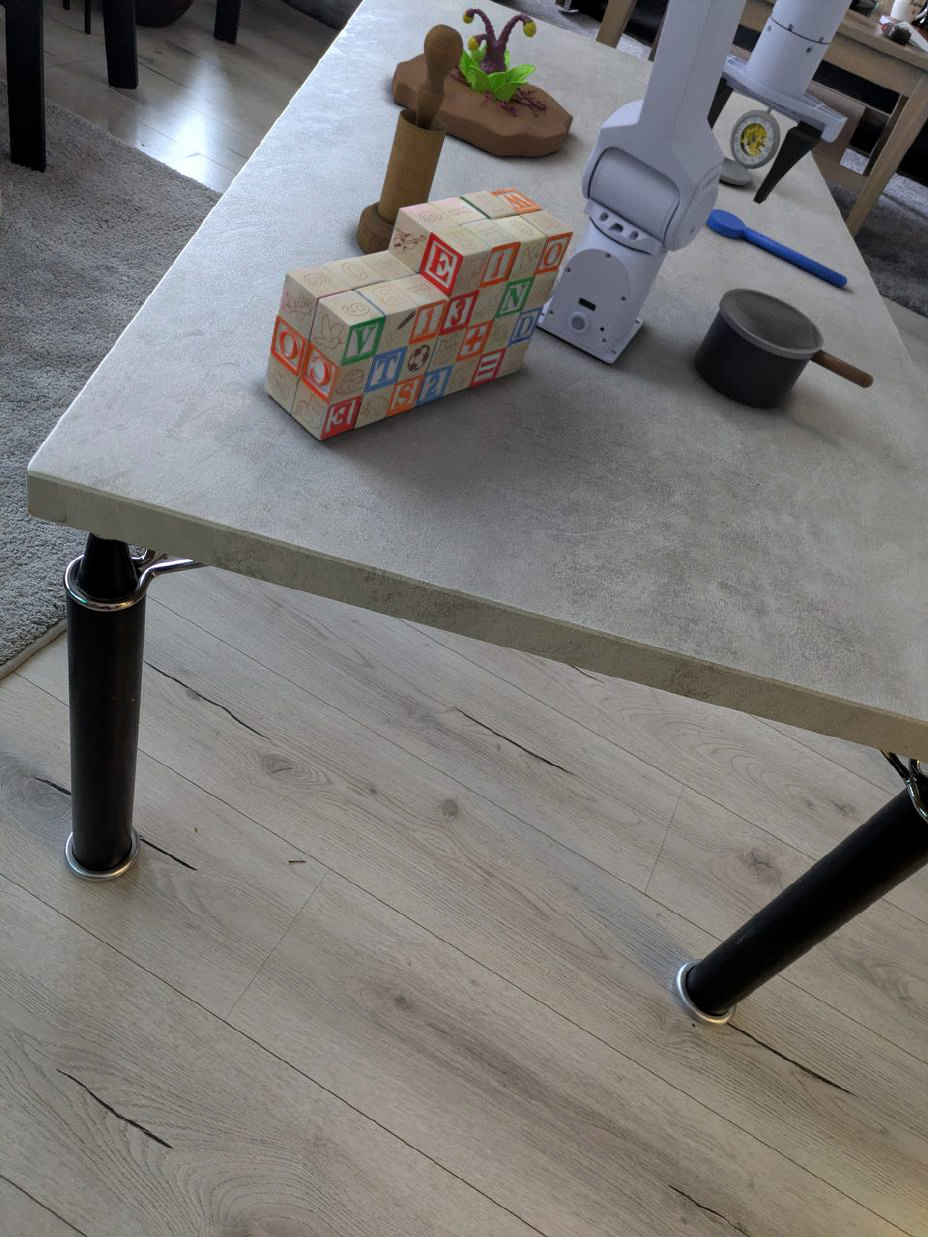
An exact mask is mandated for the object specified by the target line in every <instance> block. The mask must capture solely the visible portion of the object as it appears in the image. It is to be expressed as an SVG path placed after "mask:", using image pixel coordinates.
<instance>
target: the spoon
mask: <svg viewBox="0 0 928 1237" xmlns="http://www.w3.org/2000/svg"><path fill="white" fill-rule="evenodd" d="M706 224H707V226H708V227H710V228H711V229H712V230H713V231H715V232H716V233H718V234H720V235H722V236H725V237H728V238H732V239H737V238H743V239H744V240H747V241H748V242H751V243H752V244H755V245H756V246H758V247H760V248H762V249H764V250H766V251H768V252H770V253H772V254H774V255H776V256H778V257H780V258H781V259H784V260H786V261H788V262H790V263H792V264H794V265H796V266H798V267H800V268H802V269H804V271H805V270H806V271H807V272H808V273H809V272H810V273H811V274H814V275H815V276H817V277H820V278H821V279H823V280H826V281H827V282H829V283H831V284H833V285H835V286H837V287H839V288H842V287H845V286H846V285H847V283H848V278H847V277H846V276H845V275H844V274H842V273H839V272H837V271H836V270H833V269H831V268H829V267H827V266H825V265H823V264H822V263H820V262H818V261H816V260H814V259H812V258H810V257H808V256H806V255H804V254H802V253H800V252H798V251H796V250H794V249H792V248H790V247H788V246H786V245H784V244H782V243H780V242H779V241H776V240H774V239H773V238H770V237H769V236H767V235H764V234H763V233H760V232H759V231H756V230H755V229H753V228H751V227H749V226H746V224H745V222H744V221H743V220H742V219H741V218H739V217H738V216H737V215H735V214H734V213H731V212H729V211H726V210H724V209H718V208H713V210H712V212H711V214H710V216H709V217H708V219H707V221H706Z"/></svg>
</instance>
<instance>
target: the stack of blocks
mask: <svg viewBox="0 0 928 1237" xmlns="http://www.w3.org/2000/svg"><path fill="white" fill-rule="evenodd" d="M573 235H574V230H573V229H572V228H571V227H569V226H568V225H566V224H565V222H562V220H559V218H557V217H556V216H554V215H553V214H552V213H550V212H549V211H547V210H546V209H543V208H542V207H541V206H540V205H538V204H537V203H535V202H534V201H533V200H532V199H530V198H529V197H527V196H526V195H524V194H523V193H522V192H520V191H518V190H517V189H516V188H513V187H510V188H506V189H502V190H494V191H488V190H482V191H476V192H470V193H466V194H462V195H460V197H459V196H453V197H447V198H443V199H437V200H432V201H430V202H427V203H424V204H419V205H414V206H409V207H403V208H400V209H399V212H398V216H397V220H396V223H395V227H394V230H393V234H392V238H391V241H390V244H389V248H388V250H387V251H382V252H377V253H373V254H369V255H367V254H365V255H360V256H353V257H347V258H342V259H338V260H333V261H328V262H324V263H322V264H317V265H314V266H313V265H312V266H308V267H302V268H299V269H294V270H290V271H287V272H286V273H285V277H284V282H283V288H282V292H281V298H280V302H279V309H278V314H276V317H275V321H274V325H273V326H274V327H273V331H272V337H271V343H270V348H269V350H270V351H269V352H270V353H269V356H268V361H267V368H266V371H265V372H266V373H265V379H264V385H263V390H264V391H265V392H266V393H267V394H268V395H269V396H270V397H272V399H274V401H275V402H277V404H279V405H280V406H281V407H282V408H283V409H285V411H287V412H288V413H289V414H290V415H291V416H292V417H293V419H295V420H296V421H297V422H298V423H299V424H300V425H301V426H303V427H304V428H305V429H306V430H307V431H308V432H309V433H310V434H311V435H313V436H314V437H315V439H317V440H318V441H322V440H325V439H328V438H331V437H333V436H336V435H339V434H342V433H344V432H346V431H350V430H351V429H359V428H361V427H364V426H367V425H370V424H372V423H375V422H377V421H380V420H383V419H384V418H389V417H392V416H394V415H397V414H400V413H402V412H405V411H409V410H412V409H413V408H414V407H418V406H421V405H424V404H426V403H429V402H432V401H434V400H437V399H440V398H442V397H445V396H448V395H450V394H453V393H457V392H459V391H462V390H465V389H467V388H472V387H475V386H479V385H481V384H484V383H487V382H490V381H493V380H495V379H499V378H503V377H505V376H507V375H511V374H514V373H517V372H518V371H519V370H520V369H521V367H522V364H523V361H524V358H525V355H526V354H527V352H528V349H529V346H530V344H531V342H532V337H533V334H534V332H535V329H536V327H537V322H538V320H539V317H540V315H541V313H542V310H543V308H544V305H545V303H546V302H547V301H548V300H549V297H550V295H551V293H552V290H553V288H554V284H555V282H556V279H557V276H558V274H559V272H560V267H561V264H562V262H563V259H564V258H565V255H566V253H567V249H568V247H569V245H570V243H571V240H572V237H573Z"/></svg>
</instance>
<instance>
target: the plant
mask: <svg viewBox="0 0 928 1237" xmlns="http://www.w3.org/2000/svg"><path fill="white" fill-rule="evenodd" d="M475 15H478V17H480V19H481V21H482V23H484V28H485V29H484V31H485V32H483V33H481V34H480V33H479V34H477V35H473V36H471V37H469V38H468V41H467V50H468V51H469V53H470V54H468V53H467V51H466V49H464V48H463V54H462V57H461V59H460V61H459V63H458V64H457V65H456V66H455V67H454V68H453V69H452V70H451V72H450V73H449V74H448V75H447V76H446V77H445V80H444V91H445V92H446V96H445V99H444V101H443V103H442V105H441V107H440V109H439V110H438V112H437V114H436V115H435V116H437V117H439V118H440V119H442V120H443V121H444V122H445V123H446V124H447V126H448V128H447V132H446V134H448V135H451V136H453V137H456V138H458V139H460V140H462V141H464V142H466V143H468V144H470V145H473V146H474V147H476V148H479V149H481V150H483V151H484V152H487V153H489V154H491V155H494V156H497V157H516V156H517V157H524V158H540V157H543V156H546V155H548V154H552V153H554V152H558V151H559V150H560V149H561V147H562V145H563V143H564V139H565V137H566V136H568V135H569V132H570V129H571V126H572V124H573V121H574V116H573V115H572V114H571V113H570V112H568V111H567V109H565V107H563V106H562V105H561V104H560V103H559V102H558V101H557V100H556V99H554V97H553V96H551V95H550V94H549V93H548V92H547V91H546V90H544V89H542V88H540V87H539V86H536V85H535V84H530V83H529V81H528V80H525V79H526V78H527V77H528V76H529V75H530V74H532V73H533V72H534V71H535V70H536V67H537V66H536V65H533V64H521V65H516V66H514V67H513V68H511V69H510V65H511V54H510V52H509V50H508V49H507V44H508V42H509V40H510V35H511V34H512V30H513V29H514V28H515V27H516V24H517V23H519V21H520V22H521V23H522V30H523V33H524V36H526V37H527V38H533V37H534V36H535V35H536V33H537V24H536V23H535V21H534V19H532V17H529V16H528V14H524V13H519V14H517V15H514V16H513V17H511V19H510V20H507V22H506V24H505V25H504V27H503V29H502V30H501V33H500V34H499V36H498V38H496V34H495V29H494V26H493V25H492V21H491V20H490V18H489V17H488V15H487V14H486V13H485V11H483V10H482V9H480V8H468V9H466V10H464V12H463V14H462V21H463V22H464V24H465V25H470V24H472V23H473V21H474V20H475ZM483 41H485V43H484V44H483V46H482V48H481V50H480V47H481V45H482V42H483ZM426 76H427V65H426V60H425V55H424V52H423V53H420V54H418V55H415V56H414V57H412V58H411V59H408V60H406V61H405V60H404V61H400V62H398V63H397V65H396V68H395V69H394V72H393V77H392V81H391V86H390V89H391V92H392V95H393V96H392V101H393V102H394V103H396V104H399V105H401V106H403V107H405V108H406V109H417V88H418V84H419V83H422V82H424V80H425V79H426Z"/></svg>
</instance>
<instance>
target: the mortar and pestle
mask: <svg viewBox="0 0 928 1237" xmlns="http://www.w3.org/2000/svg"><path fill="white" fill-rule="evenodd" d="M463 49H464V41H463V37H462V35H461V33H460V32H459V31H458V30H457V29H456V28H454V27H452V26H450V25H448V24H447V25H446V24H443V23H439V24H436V25H434V26H432V28H430V29H429V30H428V32H427V33H426V35H425V38H424V41H423V53H424V55H425V60H426V65H427V76H426V79H425V80H424V82H422V83H419V84H418V88H417V109H409V108H404V109H401V110H400V111H399V114H398V117H397V123H396V127H395V132H394V136H393V141H392V146H391V150H390V154H389V159H388V162H387V168H386V171H385V176H384V181H383V186H382V189H381V193H380V197H379V201H376V202H374V203H373V204H370V205H367V206H366V207H364V209H363V210H362V211H361V213H360V217H359V222H358V227H357V230H356V234H355V235H356V236H355V240H356V244H357V246H358V247H359V248H360V250H361V251H362V252H363V253H364V254H365V255H369V254H373V253H377V252H382V251H387V250H388V248H389V244H390V241H391V238H392V234H393V230H394V227H395V223H396V220H397V216H398V212H399V209H400V208H403V207H409V206H414V205H419V204H424V203H429V198H430V194H431V190H432V187H433V183H434V180H435V179H434V178H435V175H436V172H437V168H438V164H439V161H440V157H441V152H442V151H443V147H444V146H443V145H444V143H445V139H446V135H447V133H446V132H447V128H448V126H447V124H446V123H445V122H444V121H443V120H442V119H440V118H439V117H437V116H435V115H436V114H437V112H438V110H439V109H440V107H441V105H442V103H443V101H444V99H445V96H446V92H445V91H444V80H445V77H446V76H447V75H448V74H449V73H450V72H451V70H452V69H453V68H454V67H455V66H456V65H457V64H458V63H459V61H460V59H461V57H462V54H463Z"/></svg>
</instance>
